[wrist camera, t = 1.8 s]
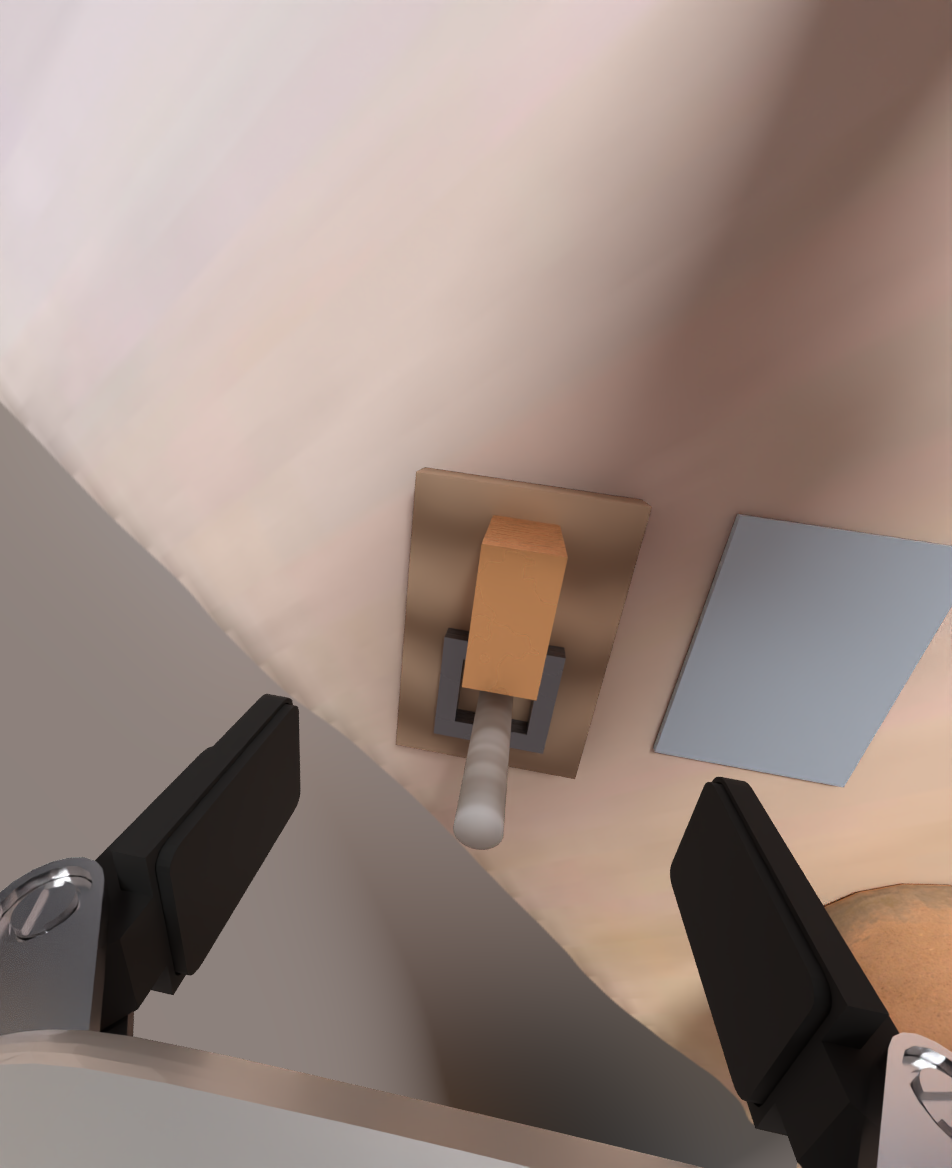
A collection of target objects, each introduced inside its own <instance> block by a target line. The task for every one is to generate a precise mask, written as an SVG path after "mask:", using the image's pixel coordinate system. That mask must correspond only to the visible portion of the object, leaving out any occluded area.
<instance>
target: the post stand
mask: <svg viewBox="0 0 952 1168" xmlns="http://www.w3.org/2000/svg"><path fill="white" fill-rule="evenodd" d="M651 508H652V507H651V506H650V505H648V504H647V503H646V502H645V501H643V500H641V499H634V498H627V497H621V496H614V495H607V494H600V493H594V492H587V491H580V490H573V489H567V488H560V487H553V486H547V485H540V484H533V483H526V482H520V481H513V480H506V479H500V478H493V477H486V476H479V475H473V474H466V473H459V472H453V471H446V470H439V469H432V468H426V467H425V468H423V469H421V470H419V471H417V472H416V480H415V494H414V507H413V521H412V534H411V548H410V561H409V575H408V588H407V602H406V615H405V628H404V642H403V655H402V669H401V682H400V696H399V709H398V723H397V736H396V745H401V746H406V747H411V748H416V749H421V750H427V751H432V752H437V753H442V754H447V755H453V756H458V757H463V758H467V759H466V764H465V769H464V775H463V780H462V785H461V790H460V795H459V800H458V806H457V811H456V816H455V821H454V826H453V831H454V834H455V836H456V838H457V839H458V840H459V841H460V842H461V843H462V844H464V845H466V846H468V847H470V848H473V849H479V850H485V849H490V848H493V847H495V846H497V845H498V844H499V843H500V842H501V840H502V838H503V832H504V818H505V804H506V790H507V776H508V766H510V767H515V768H520V769H525V770H531V771H536V772H541V773H546V774H551V775H556V776H562V777H567V778H572V779H575V777H576V774H577V770H578V766H579V763H580V759H581V756H582V752H583V749H584V745H585V742H586V738H587V735H588V731H589V728H590V724H591V720H592V717H593V713H594V710H595V706H596V703H597V699H598V696H599V692H600V689H601V685H602V682H603V678H604V674H605V671H606V667H607V664H608V660H609V657H610V653H611V650H612V646H613V643H614V639H615V635H616V632H617V628H618V625H619V621H620V618H621V614H622V611H623V607H624V604H625V600H626V597H627V593H628V589H629V586H630V582H631V579H632V575H633V572H634V568H635V565H636V561H637V558H638V554H639V550H640V547H641V543H642V540H643V536H644V533H645V529H646V526H647V522H648V519H649V515H650V512H651ZM493 515H498V516H504V517H511V518H517V519H524V520H530V521H537V522H543V523H549V524H556V525H560V527H561V531H562V535H563V540H564V544H565V548H566V552H567V556H568V559H567V563H566V568H565V573H564V577H563V582H562V586H561V591H560V595H559V600H558V605H557V609H556V614H555V618H554V623H553V627H552V632H551V637H550V641H549V645H552V646H558V647H564V648H565V656H566V660H565V664H564V668H563V672H562V677H561V681H560V685H559V689H558V693H557V697H556V702H555V706H554V710H553V714H552V718H551V723H550V727H549V731H548V735H547V739H546V744H545V748H544V752H543V754H540V753H535V752H530V751H525V750H519V749H514V748H510V734H511V720H512V719H515V720H521V721H526V722H527V720H528V715H529V710H530V705H531V701H532V700H531V699H525V698H520V697H514V696H509V695H503V694H498V693H492V692H487V691H481V690H476V689H470V688H465V687H462V683H461V690H460V697H459V704H458V709H461V710H467V711H472V712H476V713H475V718H474V723H473V728H472V733H471V738H470V740H467V739H461V738H456V737H451V736H445V735H440V734H435V733H434V725H435V716H436V708H437V699H438V690H439V681H440V673H441V664H442V655H443V646H444V638H445V635H446V632H447V630H448V628H454V629H460V630H466V631H470V624H471V617H472V610H473V603H474V596H475V588H476V581H477V574H478V567H479V559H480V552H481V545H482V542H483V539H484V537H485V534H486V532H487V529H488V527H489V524H490V522H491V519H492V517H493ZM465 661H466V660H465ZM465 661H464V668H465ZM464 668H463V675H464ZM463 675H462V682H463Z"/></svg>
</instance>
